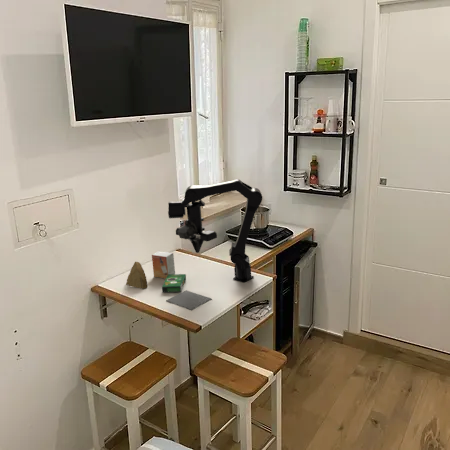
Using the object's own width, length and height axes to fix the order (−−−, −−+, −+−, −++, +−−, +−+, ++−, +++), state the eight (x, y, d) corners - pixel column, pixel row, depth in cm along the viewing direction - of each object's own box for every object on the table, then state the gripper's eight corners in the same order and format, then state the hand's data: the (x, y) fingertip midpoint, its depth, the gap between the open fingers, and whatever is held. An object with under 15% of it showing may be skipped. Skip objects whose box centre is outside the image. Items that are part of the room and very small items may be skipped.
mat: (211, 299, 186) (211, 298, 186) (191, 310, 178) (191, 309, 178) (186, 291, 195) (186, 290, 195) (166, 301, 187) (166, 300, 187)
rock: (154, 282, 200) (150, 271, 209) (140, 270, 196) (136, 259, 205) (135, 299, 201) (131, 287, 209) (120, 288, 196) (118, 276, 205)
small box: (153, 277, 212) (151, 254, 209) (161, 272, 217) (158, 250, 214) (168, 279, 208) (166, 256, 205) (175, 274, 213) (173, 252, 210)
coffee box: (181, 292, 194) (186, 279, 207) (181, 286, 193) (185, 273, 206) (162, 293, 195) (168, 280, 207) (161, 286, 194) (167, 273, 207)
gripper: (164, 218, 196) (168, 254, 200) (197, 225, 184) (200, 262, 188) (183, 212, 204) (187, 246, 208) (216, 217, 192) (219, 254, 196)
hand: (197, 252), depth 200 cm, fingers closed
